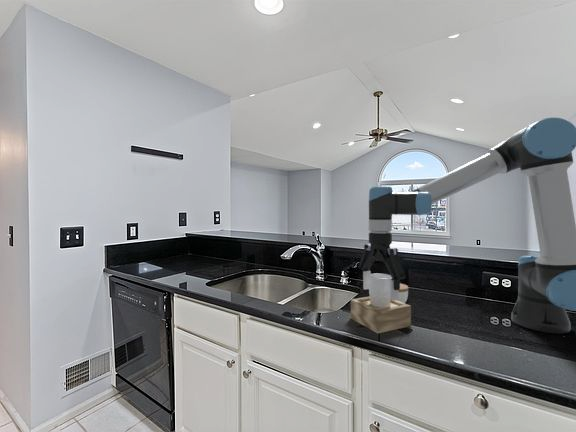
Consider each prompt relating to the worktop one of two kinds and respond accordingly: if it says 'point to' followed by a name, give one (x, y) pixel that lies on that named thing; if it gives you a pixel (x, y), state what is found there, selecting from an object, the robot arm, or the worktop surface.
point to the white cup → (379, 290)
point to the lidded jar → (403, 293)
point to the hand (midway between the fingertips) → (379, 294)
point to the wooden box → (380, 315)
